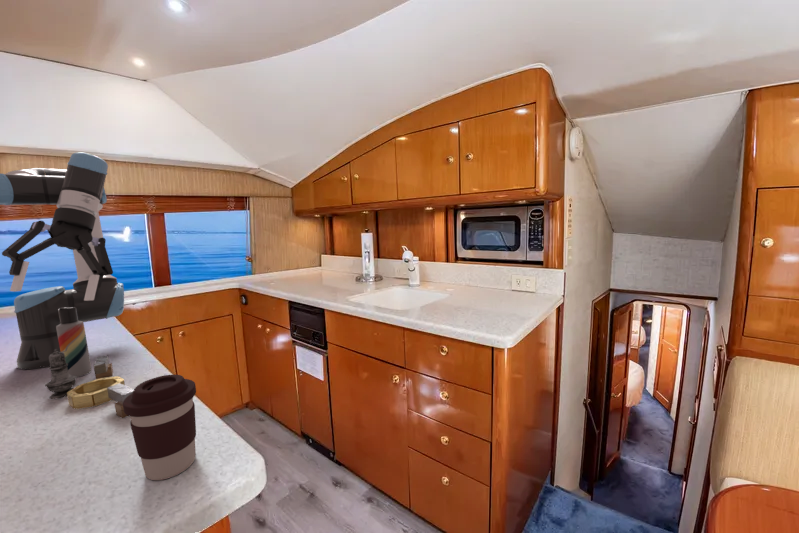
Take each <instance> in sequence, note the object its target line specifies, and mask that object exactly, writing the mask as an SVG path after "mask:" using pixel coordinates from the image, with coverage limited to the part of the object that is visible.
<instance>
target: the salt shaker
mask: <svg viewBox="0 0 799 533" xmlns="http://www.w3.org/2000/svg"><path fill="white" fill-rule="evenodd" d="M54 351H55V352H53V353H52V354H51V355H50V356H49V362H50V366H49V367H48V370H49V371H50V374H51V377H50V380H49V381H48V382H46V383H45V384H44V386H45V387H46V388H47V389H48V391H49V392H51V393H52V394H51V395H49V397H48V399H49V400H58V399H63V398H66V397H67V392H69V391H70V390H72V389H73V388H74V386H75V385H76V381H77V378H78V377H77V376H71V375H70V374H69V373H68V369H67V366H68V364H67V363H66V360H65V355H64V353H63V352H58V351H57V349H55V350H54ZM67 398H68V397H67Z"/></svg>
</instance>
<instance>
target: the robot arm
mask: <svg viewBox="0 0 799 533" xmlns="http://www.w3.org/2000/svg"><path fill="white" fill-rule="evenodd" d="M108 167H109V165H108V162H106V160H104V159H103V158H101V157H99V156H97V155H94V154H93V153H92V154H91V153H88V152H82V151H81V152H74V153H72V154H71V155H70V158H69V160H68V162H67V167H66V169H65V168H63V169H62V168H61V169H60V168H59V169H58V168H41V167H39V168H38V167H33V168H32V167H31V168H23V169H17V170H11V171H8V172H6V173H1V172H0V205H2V206H17V205H19V206H20V205H21V206H22V205H23V206H25V205H27V206H28V205H29V206H31V205H33V206H35V205H41V206H42V205H47V206H48V205H56V209H55V210H54V213H53V218H52V221H51V225H50V224H47V223H45V221H44V220H38V221H33V222H32V224H31V226H30V227H29V229H28V230H27V231H26V232H25V233H24V234H23V235H21V236H19V238H18V239H16V240H15V241H14V242H13V243H11V244H10V245H8V247H6V248H5V249H4V250H3V251H2V252H1V256H2V257H7V258H9V259H10V261H12V262H11V264H10V268H9V272H8V273H9V275H10V276H13V279H12V282H11V285H10V288H9V292H14V293H15V292H22V289H23V286H24V282H25V278H26V276H27V273H28V272H27V271H28V267H29V265H30V261H25V260H26V259H29V258H30V257H32V256H34V255H36V254H38V253H40V252H42V251H44V250H46V249H48V248H49V247H52V246H54V245H56V247H59V248H66V249H69V250H71V251H72V254H73V258H74V259H73V260H74V263H75V264H74V266H75V269H76V274H77V275H76V276H77V279H76V280H75V281H74V282H73V283H72V287H73V288H72V289H71V288H70V289H66V288H65V287H64V286H62V285H57V286H52V287H45V288H42V289H41V288H40V289H35V290H33V291H29V292H26V293H22V294H19V295H17V296H16V297H15V298H14V300H13V305H14V313H15V315H16V319H17V325H18V327H17V328H18V331H19V337H20V347H19V351H18V354H17V358H16V365H17V366H16V367H17V369H19V370H35V369H41V368H46V367H50V362H49V356H50V355H51V354H52V353H53V352H55V351H54V350H55V349H57V351H58V352H61V351H60V346H59V340H58V335H57V329H56V326H57V325H59V324H60V319H59V314H58V310H59V308H64V307H75V308H77V314H78V321H83V323H86V322H93V321H98V320H103V319H105V320H106V319H110V318H115V317H118V316H120V315H122V314H123V312H124V308H125V288H124V283H122V282H118V278H117V277H115V276H113V274H114V271H113V268H112V265H111V262H110V258H109V255H108V251H107V249H106V238H105V237H104V233H103V229H102V223H101V220H100V213H99V212H100V211H101V210H102V209H103V208H104V207H103V206H104V205H103V204H106V203H107V202H108V201H107V200H108V198H107V194H106V189H105V183H106V178H107V175H108ZM45 231H47V232H48V234H49V236H50V237H48V238H47V239H45V240H43V241H42V242H40V243H37V244H36V245H33V246H31V247H29V248H27V249H26V250H23V251H22V252H20V250H22V249H23V248H24V247H26V245H28V244H29V243H30V242H31V241H32V240H33V239H35V237H37V236H39V235H40V234H41V233H42V232H45ZM18 252H20V253H18Z"/></svg>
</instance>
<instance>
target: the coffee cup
mask: <svg viewBox="0 0 799 533" xmlns="http://www.w3.org/2000/svg"><path fill="white" fill-rule="evenodd" d="M133 389H134V391H133V393H132V394H130V395H129V396H128V397H126V398H125V400H124V401H123V409H124V413H125V414H126V415H128V416H127V417H129V418H130V422H129V426H130V428H131V433H132V437H133V440H134V444H135V447H136V452H137V456H139V458H140V461H141V465H142V469H143V472H144V475H145V477H146V478H147V479H149V480H152V481H162V480H163V481H164V480H166V479H171V478H174V477H176V476H178V475H180V474H181V473H183V472H185V471H186V470H187V469H188V468H190V466H191V465H193V463H194V461H195V460H196V455H197V454H196V451H197V450H196V436H197V429H196V428H197V427H196V425H197V424H196V407H195V406H196V405H195V402H194V397H195V395H196V393H197V387H196V383H195V381H193V380H192V379H188V378H184V376H183V375H182V374H164V375H159V376H156V377H153V378H149V379H148V380H145V381H143V382H141V383H139V384H138V385H136V386H135V387H134V388H133Z"/></svg>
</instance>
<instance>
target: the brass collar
mask: <svg viewBox="0 0 799 533" xmlns="http://www.w3.org/2000/svg"><path fill="white" fill-rule="evenodd" d="M119 383H120V384H123V385H125V386H126V384H125V379H124V378H123V377H121V376H119V375H117V376H116V375H115V376H109V377H105V378H100V379H96V378H95V379H93V380H90V381H88V382H87V381H86V382H84V383H81V384H78V385H76V386H75V387H72V388H73V389H72V390H70V391H69V392H67V402H68V406H69V407H70V408H72V409H73V410H78V409H79V410H80V409H87V408H94V407H98V406H100V405H102V404H106V403H108V402H111V401H113V400H112V399H110V398H109V397H108V391H107V388H108V387H111V386H113V385H116V384H119Z"/></svg>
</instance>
